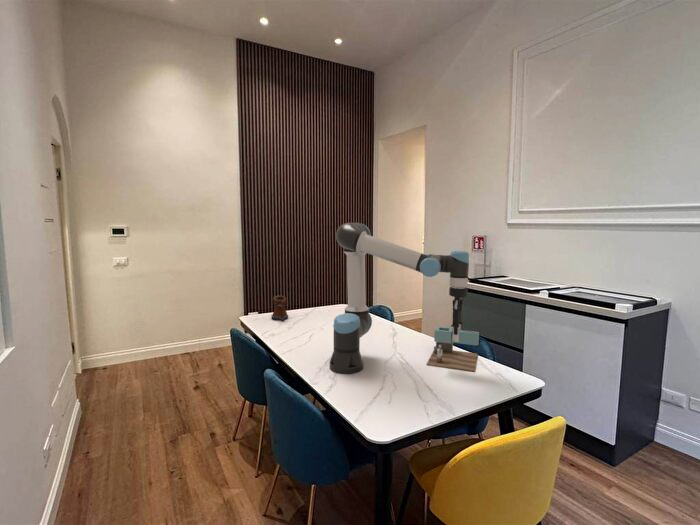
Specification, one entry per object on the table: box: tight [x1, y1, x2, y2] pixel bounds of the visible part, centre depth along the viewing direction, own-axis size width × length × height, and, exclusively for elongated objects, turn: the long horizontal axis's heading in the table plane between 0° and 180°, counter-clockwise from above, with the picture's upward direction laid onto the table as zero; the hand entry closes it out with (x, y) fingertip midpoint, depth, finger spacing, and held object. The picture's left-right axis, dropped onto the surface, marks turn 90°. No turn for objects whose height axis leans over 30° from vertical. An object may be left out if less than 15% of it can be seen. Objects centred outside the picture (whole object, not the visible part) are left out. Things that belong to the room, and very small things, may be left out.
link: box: [433, 326, 480, 347], centre depth 166 cm, size 18×7×5 cm, turn 67°
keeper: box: [433, 342, 454, 354], centre depth 191 cm, size 8×8×7 cm
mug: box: [270, 294, 289, 322], centre depth 252 cm, size 18×12×15 cm, turn 24°
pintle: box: [437, 345, 442, 363], centre depth 178 cm, size 2×2×9 cm
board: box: [426, 349, 478, 373], centre depth 183 cm, size 24×21×1 cm
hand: (456, 339), depth 166 cm, fingers closed on link, 3 cm apart
